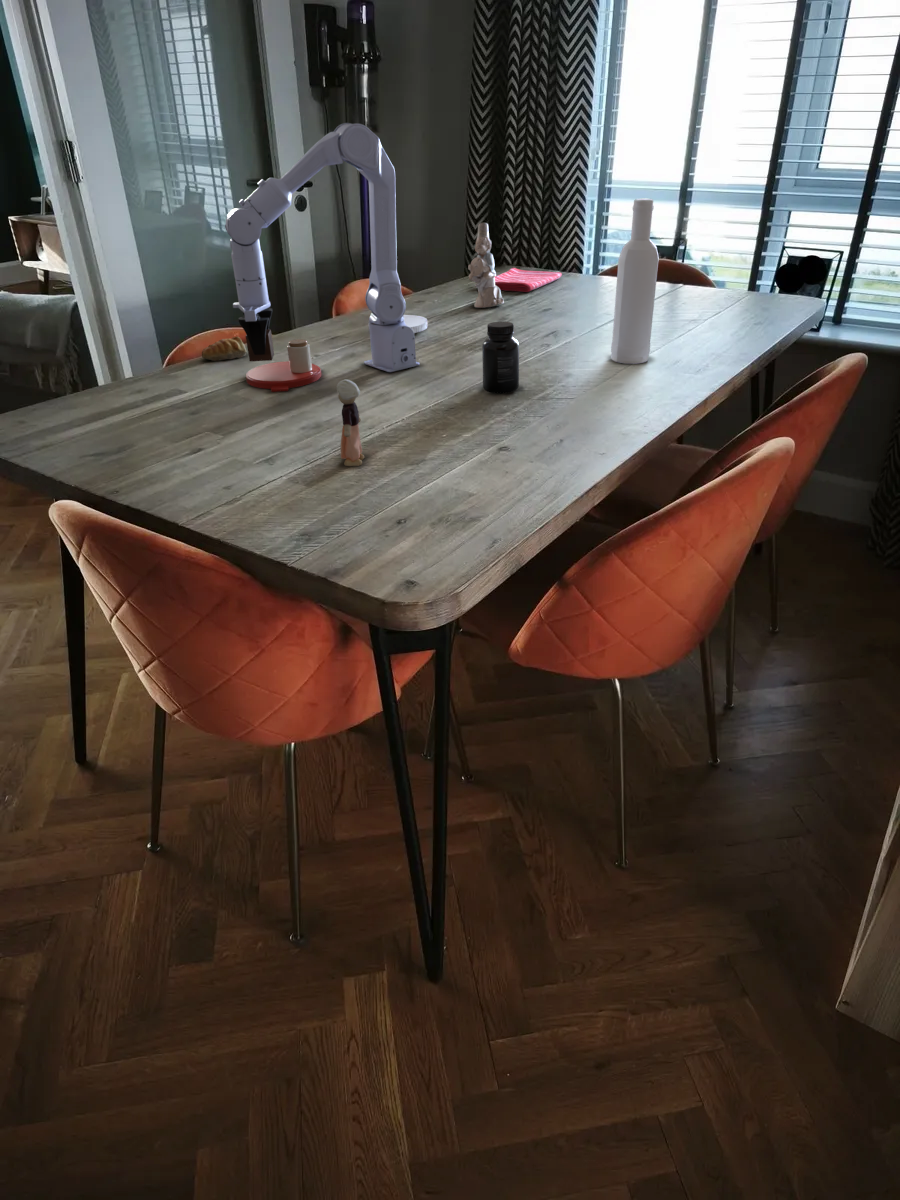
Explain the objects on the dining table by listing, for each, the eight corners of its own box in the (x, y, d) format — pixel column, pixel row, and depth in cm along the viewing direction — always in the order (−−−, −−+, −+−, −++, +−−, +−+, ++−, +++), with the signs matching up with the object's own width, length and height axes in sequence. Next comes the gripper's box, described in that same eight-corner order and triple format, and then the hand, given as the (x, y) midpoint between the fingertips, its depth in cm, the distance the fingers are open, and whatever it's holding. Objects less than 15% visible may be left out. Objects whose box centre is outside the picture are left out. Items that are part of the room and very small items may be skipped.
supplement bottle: (522, 385, 154) (524, 320, 148) (513, 395, 149) (514, 329, 142) (488, 382, 156) (488, 318, 150) (478, 393, 151) (477, 327, 144)
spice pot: (316, 370, 162) (313, 341, 159) (297, 374, 159) (293, 345, 156) (305, 365, 165) (301, 337, 162) (286, 370, 162) (282, 341, 159)
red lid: (251, 369, 168) (250, 362, 168) (323, 365, 169) (322, 359, 169) (240, 393, 154) (239, 386, 154) (318, 389, 155) (317, 382, 154)
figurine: (483, 301, 219) (482, 220, 209) (509, 304, 215) (509, 222, 205) (464, 307, 213) (462, 225, 203) (490, 310, 209) (490, 226, 199)
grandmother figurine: (342, 453, 126) (333, 373, 120) (366, 452, 127) (359, 372, 120) (340, 472, 120) (331, 389, 113) (366, 471, 120) (358, 387, 113)
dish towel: (476, 289, 233) (476, 279, 232) (512, 275, 250) (512, 266, 249) (529, 293, 226) (529, 283, 224) (562, 278, 243) (563, 269, 242)
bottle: (656, 358, 167) (673, 198, 151) (636, 366, 162) (651, 202, 147) (623, 351, 172) (636, 196, 156) (602, 360, 167) (614, 200, 151)
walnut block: (272, 360, 158) (268, 334, 156) (249, 361, 158) (245, 335, 155) (274, 354, 162) (270, 329, 159) (252, 355, 162) (248, 330, 159)
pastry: (210, 364, 173) (206, 346, 171) (197, 358, 177) (193, 340, 175) (249, 355, 178) (247, 338, 176) (236, 350, 182) (233, 333, 180)
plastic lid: (359, 337, 189) (358, 326, 188) (385, 323, 200) (384, 313, 199) (413, 341, 184) (412, 330, 183) (436, 327, 195) (436, 316, 194)
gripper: (234, 272, 158) (245, 342, 165) (223, 286, 146) (235, 361, 153) (270, 271, 159) (280, 340, 166) (262, 285, 146) (272, 359, 153)
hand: (261, 350), depth 159 cm, fingers closed on walnut block, 4 cm apart
